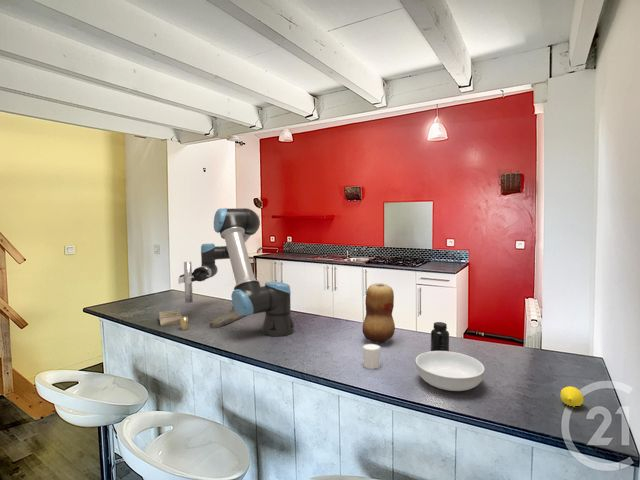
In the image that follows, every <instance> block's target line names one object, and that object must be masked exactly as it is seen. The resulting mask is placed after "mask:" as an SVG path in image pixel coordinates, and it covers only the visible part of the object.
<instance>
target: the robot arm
mask: <svg viewBox="0 0 640 480" xmlns="http://www.w3.org/2000/svg"><path fill="white" fill-rule="evenodd" d="M260 225H261V221H260V218H259V215H258V213H256V212H255V211H254V210H252V209H250V208H247V207H246V208H245V207H244V208H227V207H223V208H218V209H217V210H216V212H215V213H214V217H213V231H214V232H215V233H217V234H219V235H220V238H221V239H223V240H225V242H224V243H225V245H224V246H219V245H218V246H215V245H216V244H214V243H202V244H201V246H200V256H201V257H200V259H201V265H200V266H199V267H196V268H195V269H193V270H192V276H191V277H189V278H187V284H189V283H191V282H192V283H193V282H204V281H206V280H209V279H210V278H213V277H215V276H216V275H217V274H218V266H217V265H216V260H228V259H229V261H230V264H231V268H232V273H233V276H234V280H235V286H234V287H233V291H232V292H231V296H230V297H231V304H232V307H234V309H235V311H236V312H237V313H238V314H239V315H242V316H244V315H246V316H252V315H257V314H262V313H265V316H264V321H263V324H262V327H261V330H262V331H261V332H262V334H264V335H266V336H270V337H283V336H288V335H291V334H293V333H295V324H294V323H295V322H294V321H293V317H292V313H291V311H292V310H291V295H292V292H291V286H290V285H289V284H288V283H285V282H280V281H266V282H265V283H264V286H261V284H260V281H259V280H258V279H256V278H255V275H254V271H253V267H252V265H251V261H250V257H249V254H248V250H247V245H246V242H247V241H248V240H249V238H250V237H251V236H253V235H255V234H256V233H257V232H258V230H259V229H260ZM177 279H178V280H177V281H178V285H181V284H183V283H184V284H185V281H184V273H183V274H180V275H179V277H177ZM244 317H245V316H244Z"/></svg>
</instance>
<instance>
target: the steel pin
mask: <svg viewBox="0 0 640 480" xmlns="http://www.w3.org/2000/svg"><path fill="white" fill-rule="evenodd" d="M192 266H193V265H192V261H184V262H183V274H184V281H185V283H184V303H186V304H189V303H190V304H191V303H193V298H194V297H193V296H194V295H193V282H191V283H189V284H187V278H189V277H191V276H192V273H193V269H192Z"/></svg>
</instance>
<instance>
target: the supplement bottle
mask: <svg viewBox="0 0 640 480" xmlns="http://www.w3.org/2000/svg"><path fill="white" fill-rule="evenodd" d="M447 325H448V324H447V323H446V322H442V321H435V322H433V329H432V330H431V331H430V351H449V352H450V333H449V331H448V330H447V329H448V327H447Z"/></svg>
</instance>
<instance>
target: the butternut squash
mask: <svg viewBox="0 0 640 480" xmlns="http://www.w3.org/2000/svg"><path fill="white" fill-rule="evenodd" d="M365 293H366V294H365V300H364V301H365V302H364V303H365V312H366V313H365V317H364V320H363V323H362V335H363V336H364V338H365V339H366V340H367V341H369V342H372V343H377V344H383V343H386V342H387V341H389V340H390V339H391V338H393V336H394V334H395V330H396V327H395V326H396V325H395V320H394V318H393V311H394V304H395V301H394V299H395V298H394V297H395V296H394V290H393V288H392V287H391V286H390V285H388V284H385V283H383V282H381V283H379V282H378V283H371V284H370V285H369V286H368V288H367V289H366V292H365Z"/></svg>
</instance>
